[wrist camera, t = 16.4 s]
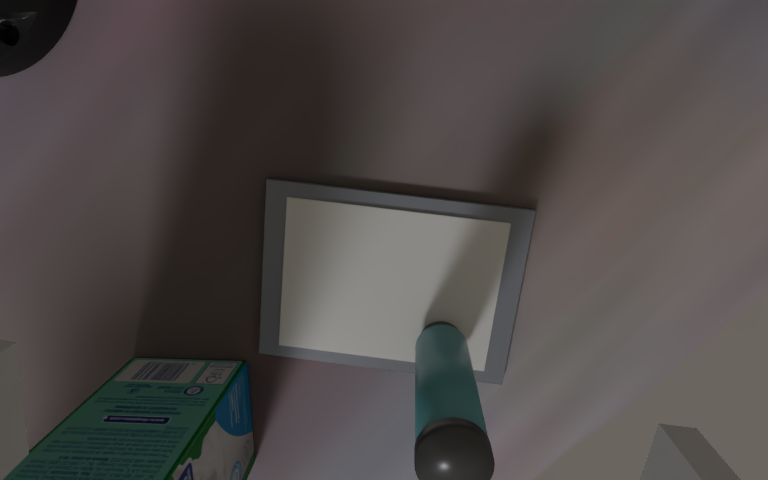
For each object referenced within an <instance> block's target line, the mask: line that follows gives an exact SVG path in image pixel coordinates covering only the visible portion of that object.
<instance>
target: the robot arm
mask: <svg viewBox="0 0 768 480" xmlns="http://www.w3.org/2000/svg"><path fill="white" fill-rule="evenodd" d="M75 1H76V0H0V77H3V76H8V75H11V74H15V73H17V72H20V71H22V70H24V69H27V68H29V67H30V66H32V65H34V64H35V63H37V62H38V61H39V60H41V59H42V58H43V57H44V56H45V55H46V54H47V53H48V52H49V51H50V50H51V49H52V48H53V47H54V46H55V44H56V43H57V42H58V40H59V39H60V37H61V36H62V34H63V33H64V31H65V29H66V27H67V25H68V22H69V20H70V18H71V15H72V12H73V9H74V5H75ZM28 454H29V449H28V440H27V432H26V423H25V414H24V406H23V397H22V388H21V380H20V371H19V362H18V354H17V345H16V342H9V341H1V340H0V480H3V479H4V478H5V477H6V476H7V475H8V474H9V473H10V472H11V471H12V470H13V469H14V468H15V467H16V466H17V465H18V464H19V463H20V462H21V461H22V460H23V459H24V458H25V457H26V456H27V455H28ZM640 480H740V479H739V477H738V476H737V475H736V474H735V473H734V472H733V470H732V469H731V468H730V467H729V466H728V464H727V463H726V462H725V461H724V460H723V459H722V458H721V457H720V455H719V454H718V453H717V452H716V451H715V449H714V448H713V447H712V446H711V445H710V444H709V442H708V441H707V440H706V439H705V438H704V437H703V435H702V434H701V433H700V432H699V431H698V430H697V429H696V428H689V427H681V426H673V425H665V424H659V425H658V428H657V431H656V434H655V437H654V440H653V443H652V446H651V449H650V451H649V455H648V457H647V461H646V463H645V466H644V469H643V472H642V475H641V478H640Z"/></svg>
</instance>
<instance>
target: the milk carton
mask: <svg viewBox="0 0 768 480" xmlns="http://www.w3.org/2000/svg"><path fill="white" fill-rule="evenodd" d="M254 462H255V453H254V440H253V428H252V416H251V403H250V391H249V379H248V367H247V361H226V360H193V359H161V358H132V359H131V360H130V361H129V362H128V363H127V364H125V365H124V366H123V367H122V368H121V369H120V370H119V371H118V372H117V373H115V374H114V375H113V376H112V377H111V378H110V379H109V380H108V381H106V382H105V383H104V384H103V385H102V386H101V387H100V388H99V389H98V390H96V391H95V392H94V393H93V394H92V395H91V396H90V397H89V398H88V399H86V400H85V401H84V402H83V403H82V404H81V405H80V406H79V407H77V408H76V409H75V410H74V411H73V412H72V413H71V414H70V415H69V416H67V417H66V418H65V419H64V420H63V421H62V422H61V423H60V424H59V425H57V426H56V427H55V428H54V429H53V430H52V431H51V432H50V433H49V434H47V435H46V436H45V437H44V438H43V439H42V440H41V441H40V442H38V443H37V444H36V445H35V446H34V447H33V448H32V449H31V450H30V451H29V454H28V455H27V456H26V457H25V458H24V459H23V460H22V461H21V462H20V463H19V464H18V465H17V466H16V467H15V468H14V469H13V470H12V471H11V472H10V473H9V474H8V475H7V476H6V477H5V478H4V479H3V480H247V478H248V475H249V473H250V471H251V469H252V466H253V464H254Z"/></svg>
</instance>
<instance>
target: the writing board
mask: <svg viewBox="0 0 768 480" xmlns="http://www.w3.org/2000/svg"><path fill="white" fill-rule="evenodd" d="M535 213H536V211H535V210H534V209H528V208H519V207H511V206H502V205H494V204H485V203H477V202H468V201H459V200H451V199H442V198H434V197H425V196H417V195H408V194H400V193H391V192H383V191H374V190H366V189H357V188H349V187H340V186H332V185H323V184H314V183H306V182H297V181H289V180H280V179H272V178H268V179H266V200H265V223H264V246H263V269H262V292H261V315H260V338H259V354H267V355H275V356H282V357H290V358H298V359H306V360H314V361H322V362H329V363H337V364H345V365H353V366H361V367H368V368H376V369H384V370H392V371H400V372H408V373H415V346H416V341H417V339H418V337H419V335H420V334H421V332H422V331H423V329H424V328H425V327H426V326H427V325H429V324H431V323H433V322H437V321H444V322H448V323H451V324H453V325H454V326H455V327H456V328H457V329H458V330H459V331H460V332H461V333H462V334H463V335H464V337H465V339H466V341H467V344H468V349H469V353H470V358H471V363H472V367H473V372H474V376H475V381H478V382H486V383H494V384H501V385H502V382H503V377H504V372H505V367H506V362H507V357H508V351H509V346H510V341H511V336H512V331H513V326H514V321H515V316H516V310H517V305H518V300H519V295H520V290H521V285H522V280H523V275H524V269H525V264H526V259H527V254H528V249H529V244H530V239H531V233H532V228H533V223H534V218H535Z"/></svg>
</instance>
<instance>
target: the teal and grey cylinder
mask: <svg viewBox="0 0 768 480" xmlns="http://www.w3.org/2000/svg"><path fill="white" fill-rule="evenodd" d="M415 420H416V442H415V471H416V474H417V477H418V479H419V480H490V479H491V477H492V475H493V472H494V457H493V453H492V448H491V444H490V441H489V438H488V435H487V431H486V426H485V422H484V417H483V413H482V408H481V403H480V399H479V394H478V390H477V385H476V381H475V376H474V372H473V367H472V363H471V358H470V353H469V349H468V344H467V341H466V339H465V337H464V335H463V334H462V333H461V332H460V331H459V330H458V329H457V328H456V327H455V326H454V325H453V324H451V323H448V322H444V321H437V322H433V323H431V324H429V325H427V326H426V327H425V328H424V329H423V331H422V332H421V334H420V335H419V337H418V339H417V341H416V346H415Z"/></svg>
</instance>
